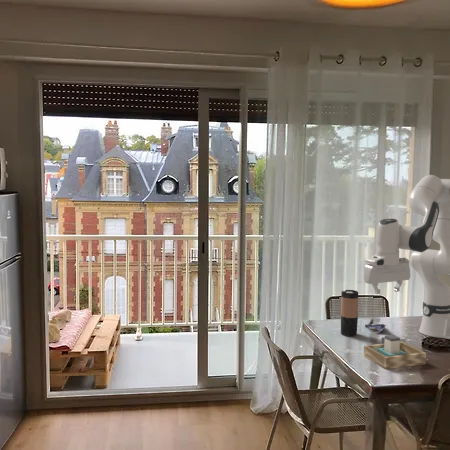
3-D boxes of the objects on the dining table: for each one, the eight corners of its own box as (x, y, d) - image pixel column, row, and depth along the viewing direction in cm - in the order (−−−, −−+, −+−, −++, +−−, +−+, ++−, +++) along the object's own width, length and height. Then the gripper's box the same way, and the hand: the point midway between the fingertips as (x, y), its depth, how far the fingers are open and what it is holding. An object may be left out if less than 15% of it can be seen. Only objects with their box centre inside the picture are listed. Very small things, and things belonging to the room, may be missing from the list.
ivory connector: (392, 357, 184) (393, 334, 183) (399, 360, 180) (400, 337, 179) (383, 358, 182) (384, 335, 182) (390, 361, 179) (391, 338, 178)
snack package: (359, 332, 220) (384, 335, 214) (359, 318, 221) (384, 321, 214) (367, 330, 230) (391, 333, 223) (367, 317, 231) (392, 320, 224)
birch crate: (401, 351, 192) (402, 341, 192) (425, 364, 179) (426, 353, 178) (363, 356, 187) (364, 345, 186) (385, 369, 173) (385, 357, 173)
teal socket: (393, 355, 186) (393, 346, 185) (405, 361, 179) (406, 353, 178) (377, 357, 183) (377, 348, 183) (389, 363, 176) (389, 354, 176)
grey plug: (399, 344, 201) (399, 335, 201) (405, 347, 197) (405, 338, 197) (381, 346, 198) (381, 337, 198) (387, 349, 195) (387, 340, 194)
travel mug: (357, 337, 211) (359, 293, 209) (340, 336, 212) (341, 292, 211) (356, 332, 218) (357, 290, 217) (339, 331, 220) (341, 289, 218)
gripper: (403, 256, 195) (403, 288, 196) (361, 259, 189) (361, 293, 190) (414, 258, 189) (413, 291, 190) (371, 262, 183) (370, 296, 184)
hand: (387, 292), depth 190 cm, fingers open, 8 cm apart
